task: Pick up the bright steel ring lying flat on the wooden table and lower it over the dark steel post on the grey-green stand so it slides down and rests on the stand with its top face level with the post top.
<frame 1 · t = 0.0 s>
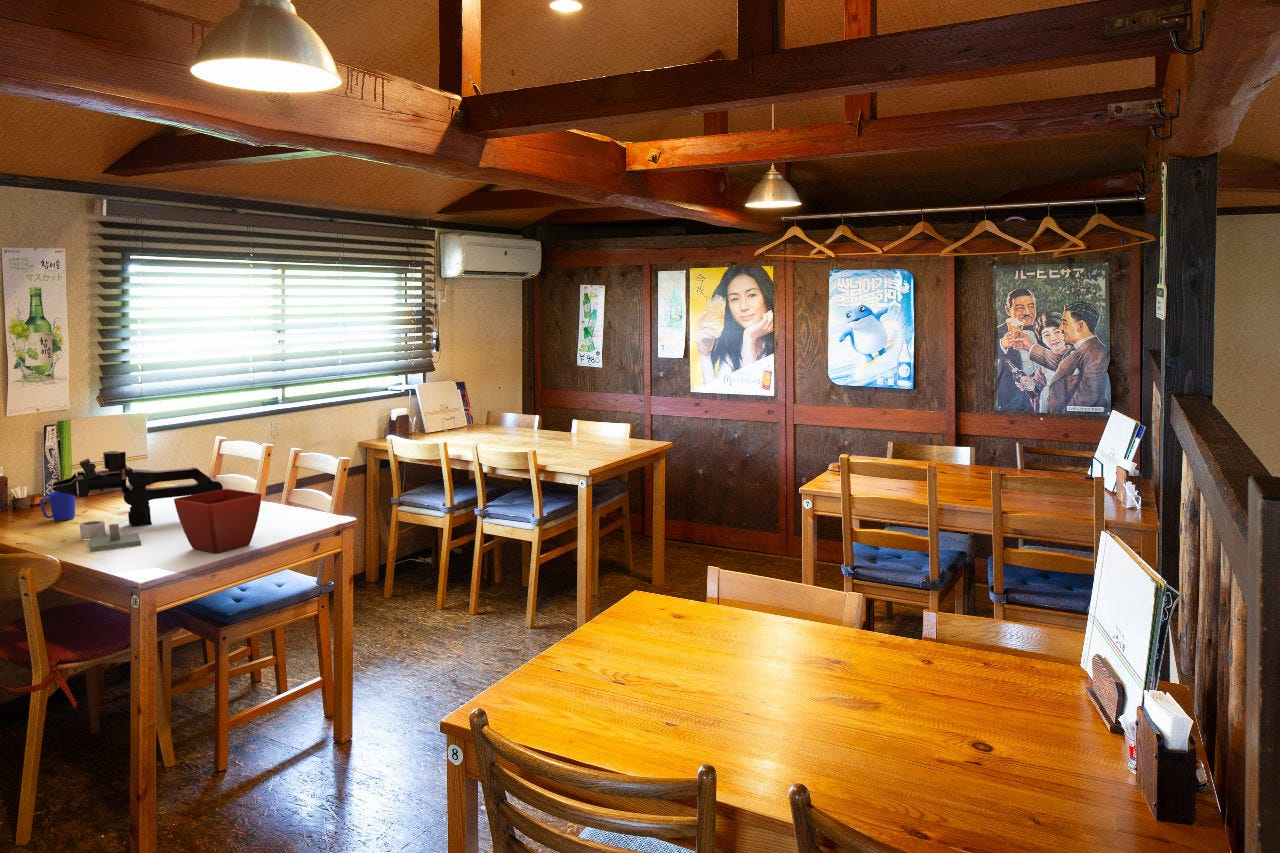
hand: (52, 486, 310), 17 cm above the table, tool horizontal, fingers open, 9 cm apart
steel ring: (93, 537, 307), on the table
mug: (59, 520, 332), on the table
plant pot: (221, 547, 294), on the table
post stand: (115, 544, 298), on the table
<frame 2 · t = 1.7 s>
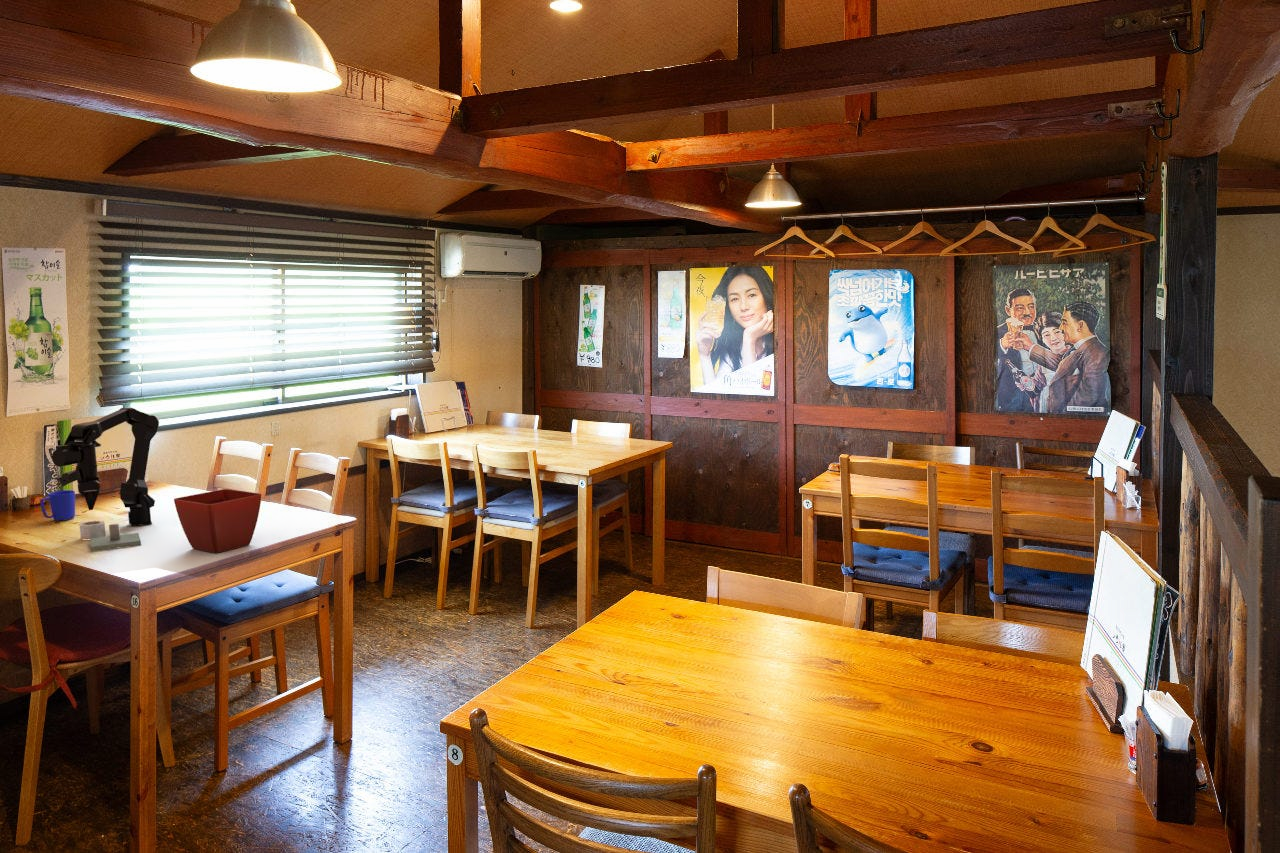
hand: (90, 507, 306), 10 cm above the table, tool pointing down, fingers open, 9 cm apart
nothing on the table moved.
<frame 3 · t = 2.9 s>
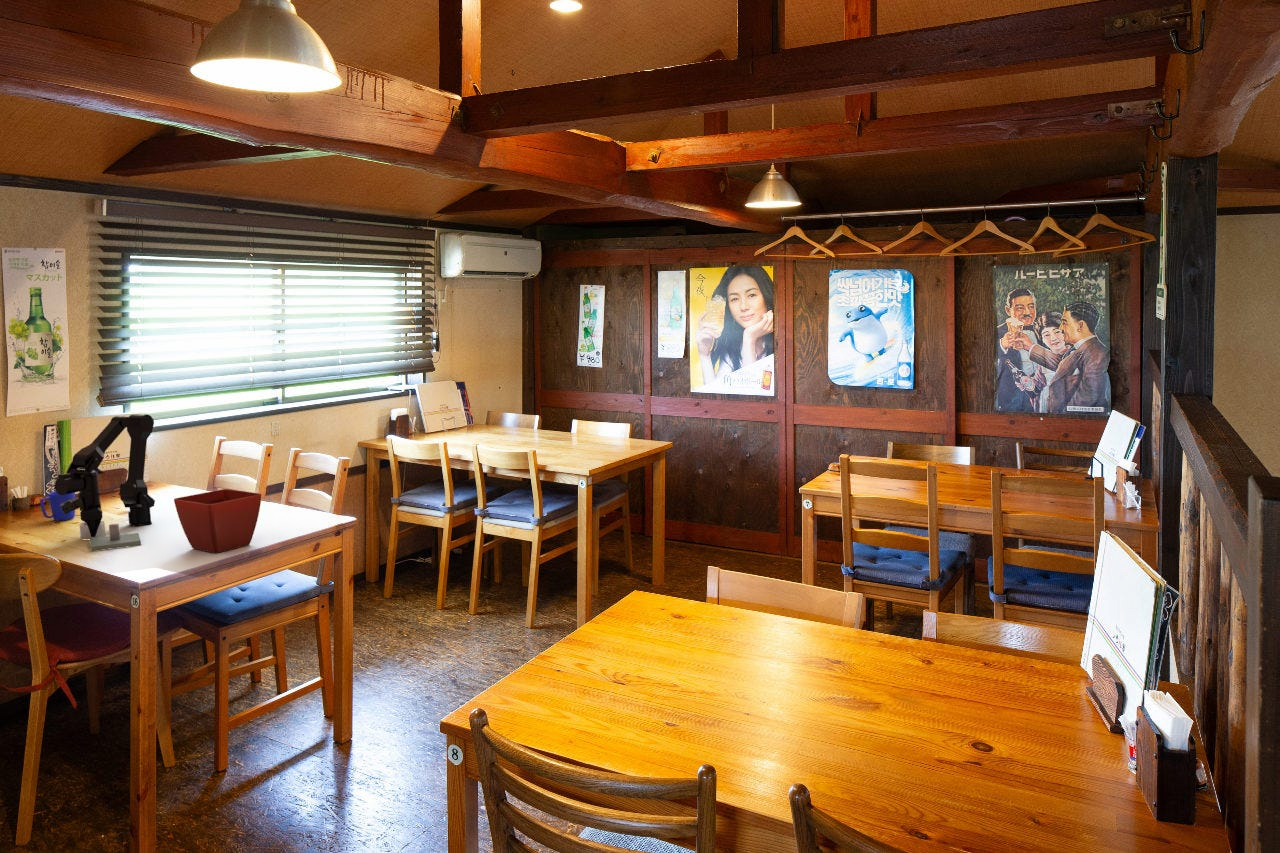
hand: (93, 534, 307), 1 cm above the table, tool pointing down, fingers closed on steel ring, 7 cm apart
steel ring: (93, 537, 307), on the table, touching gripper
everything else where it was.
when the fingers open (4 cm above the table, at t = 7.8 s): steel ring drops 1 cm, resting on post stand.
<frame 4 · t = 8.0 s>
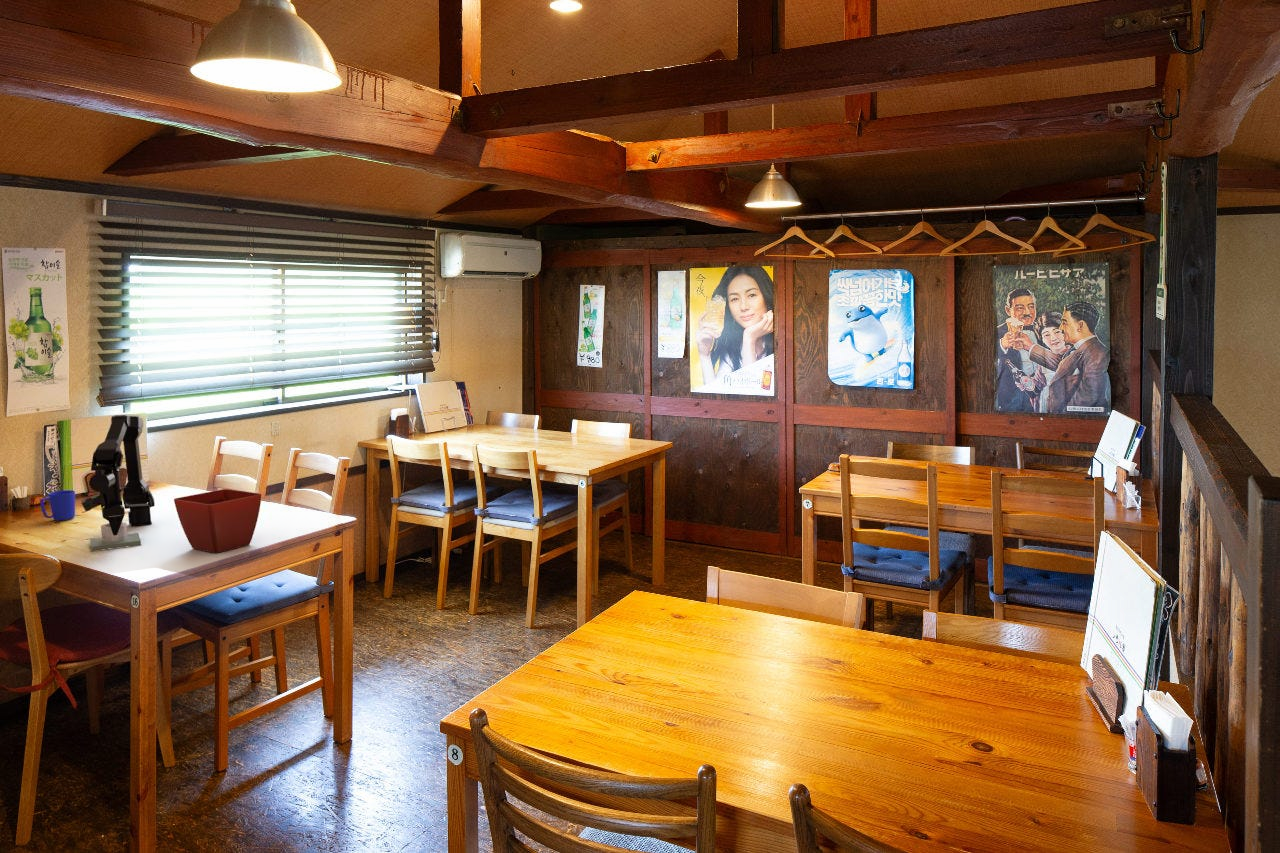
hand: (114, 532, 298), 4 cm above the table, tool pointing down, fingers open, 9 cm apart
steel ring: (114, 539, 298), point 1 cm above the table, touching post stand
everything else where it was.
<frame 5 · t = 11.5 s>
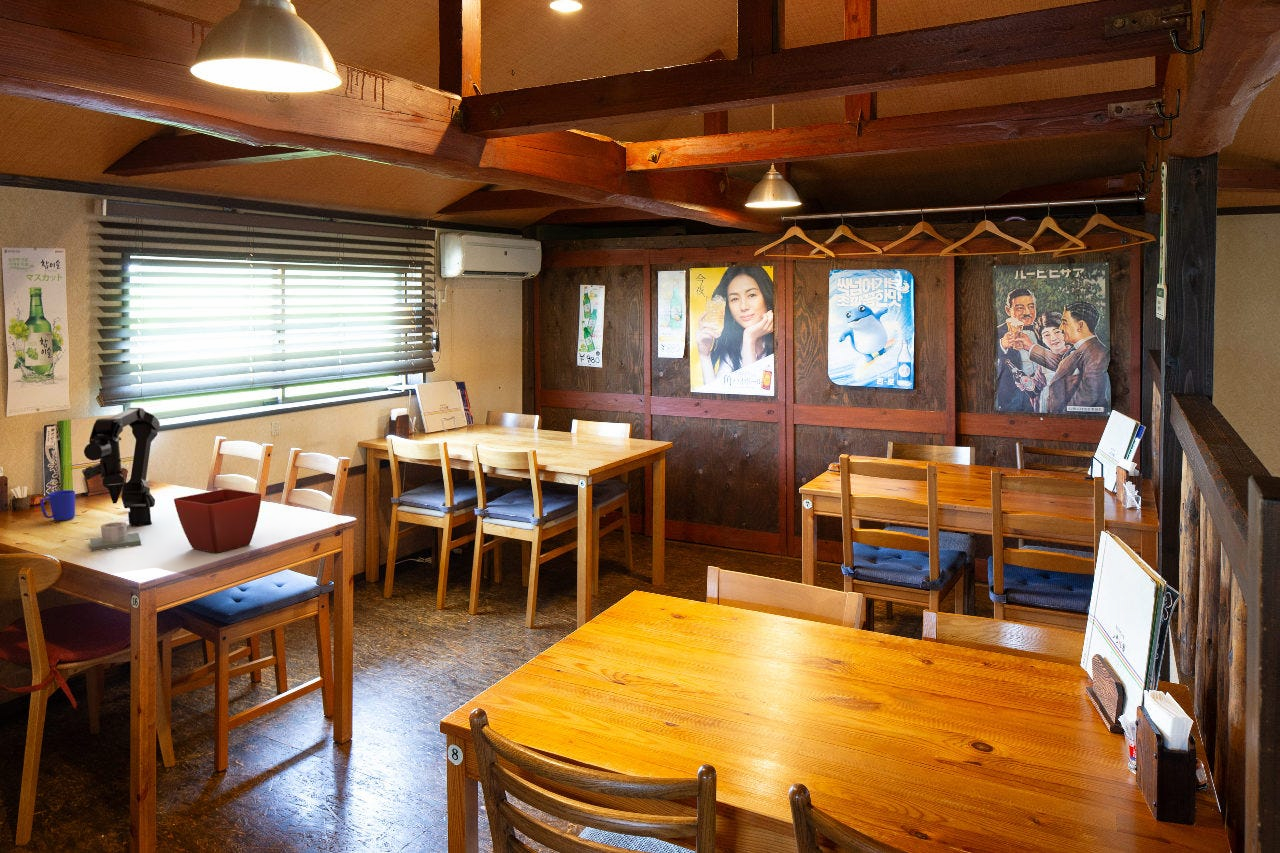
hand: (114, 500, 308), 12 cm above the table, tool pointing down, fingers open, 9 cm apart
nothing on the table moved.
at the end: steel ring 0.1 cm off-centre on the post stand, point 1.5 cm above the post stand's base; steel ring tilted 0°; the gripper is holding nothing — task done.
